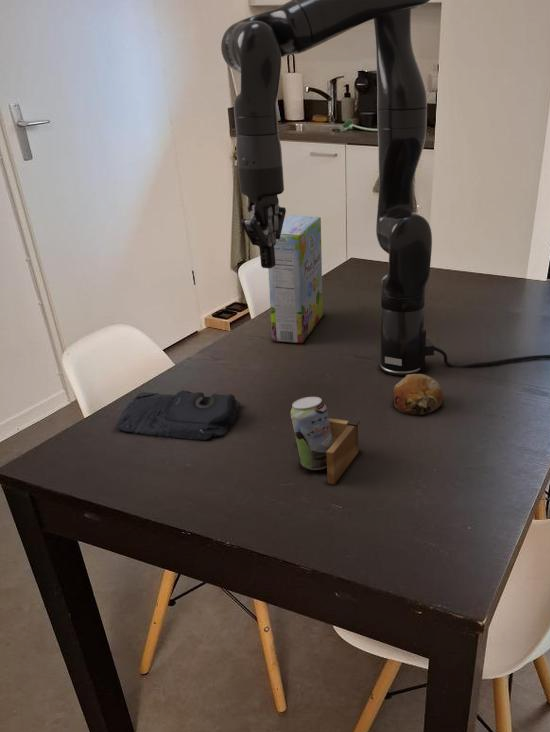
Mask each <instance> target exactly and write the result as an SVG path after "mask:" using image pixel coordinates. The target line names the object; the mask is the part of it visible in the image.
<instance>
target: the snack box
mask: <svg viewBox="0 0 550 732" xmlns="http://www.w3.org/2000/svg"><path fill="white" fill-rule="evenodd" d="M321 219H322V217H320V216H315V215H295V214H294V215H289V216H288V217H287V218H286V219H285V218H284V222H283V227H282V231H281V236H280V239H276V245H274V252H275V266H274V267H272V268H267V270H268V271H267V274H268V288H269V306H270V308H269V309H270V325H271V341H272V342H281V343H289V344H303V343H304V342H305V341H306V339H307V337H308V336H309V335H310V334H311V332H312V331H313V329H314V328H315V327H316V325H317V324H318V323H319V321H320V320H321V319H322V317H324V316H323V315H324V314H323V313H324V312H323V311H324V310H323V309H324V308H323V261H322V259H323V258H322V256H323V255H322V220H321Z"/></svg>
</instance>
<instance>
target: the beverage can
mask: <svg viewBox="0 0 550 732" xmlns="http://www.w3.org/2000/svg"><path fill="white" fill-rule="evenodd" d="M291 406H292V407H291V410H290V418H291V424H292V427H293V428H292V429H293V433H294V437H295V442H296V446H297V451H298V456H299V460H300V465H301V466H302V467H303V468H304V469H305V468H306V469H307V470H311V471H319V470H324V469H327V453H326V452H327V450H328V449H329V448H330V447H331V446H332V444H333V440H332V435H331V429H330V424H329V418H330V417H329V414H328V408H327V405H326V403H325V402H323V400H322V398H321V397H319V396H307V397H301V398H299V399H297V400H295V401H293V402H292V405H291Z"/></svg>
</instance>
